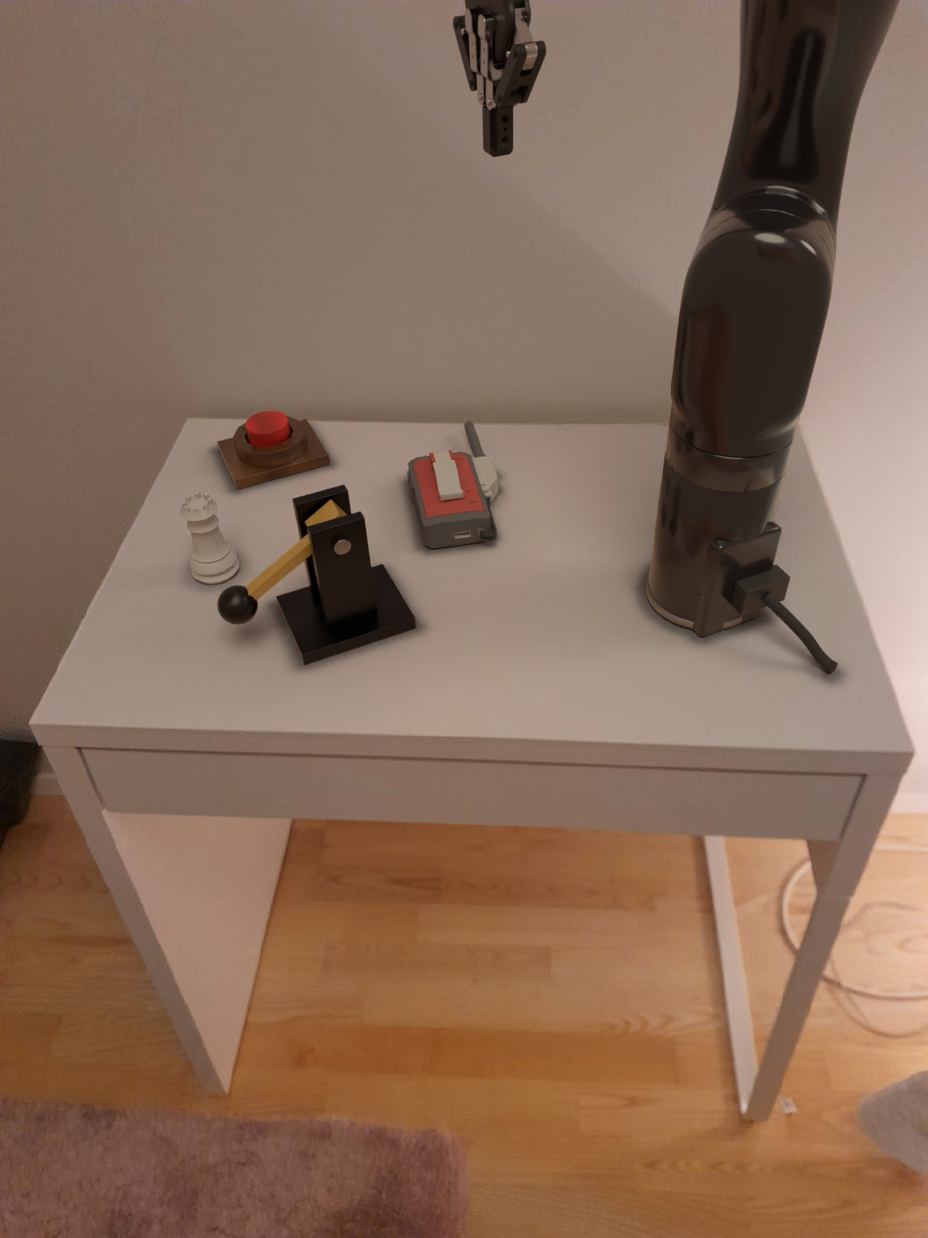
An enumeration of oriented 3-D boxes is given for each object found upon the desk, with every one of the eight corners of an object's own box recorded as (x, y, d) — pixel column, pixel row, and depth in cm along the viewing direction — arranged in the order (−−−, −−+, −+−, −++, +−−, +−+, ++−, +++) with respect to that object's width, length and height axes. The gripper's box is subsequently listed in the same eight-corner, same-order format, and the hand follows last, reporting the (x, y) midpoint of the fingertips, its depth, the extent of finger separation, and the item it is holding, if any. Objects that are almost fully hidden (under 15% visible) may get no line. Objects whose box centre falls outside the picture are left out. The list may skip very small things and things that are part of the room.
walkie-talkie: (517, 546, 88) (478, 432, 102) (518, 508, 85) (477, 396, 99) (425, 559, 87) (398, 442, 101) (421, 521, 84) (394, 406, 98)
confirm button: (284, 421, 100) (281, 406, 99) (295, 441, 98) (293, 426, 96) (243, 431, 99) (240, 416, 98) (254, 452, 96) (251, 437, 95)
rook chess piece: (250, 570, 87) (232, 500, 81) (208, 593, 85) (187, 522, 79) (224, 548, 89) (205, 479, 84) (182, 570, 87) (160, 500, 82)
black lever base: (304, 665, 78) (280, 555, 70) (278, 606, 83) (252, 497, 75) (416, 628, 80) (405, 518, 72) (383, 573, 86) (370, 465, 78)
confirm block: (307, 427, 104) (303, 403, 102) (330, 464, 99) (326, 440, 97) (219, 450, 102) (213, 426, 99) (237, 489, 96) (231, 465, 94)
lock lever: (240, 638, 76) (213, 620, 74) (231, 614, 78) (205, 595, 76) (362, 536, 75) (338, 514, 72) (349, 514, 77) (325, 492, 75)
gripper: (415, -103, 73) (429, 139, 85) (487, -82, 64) (491, 184, 76) (503, -111, 75) (504, 126, 87) (584, -93, 66) (573, 168, 78)
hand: (498, 153), depth 81 cm, fingers closed
